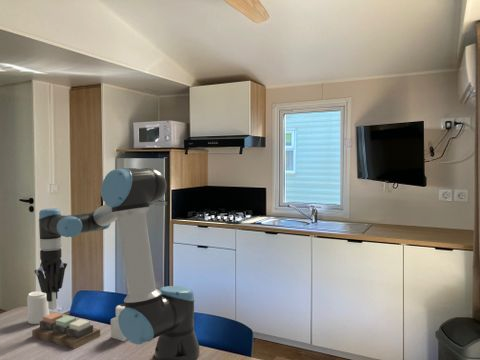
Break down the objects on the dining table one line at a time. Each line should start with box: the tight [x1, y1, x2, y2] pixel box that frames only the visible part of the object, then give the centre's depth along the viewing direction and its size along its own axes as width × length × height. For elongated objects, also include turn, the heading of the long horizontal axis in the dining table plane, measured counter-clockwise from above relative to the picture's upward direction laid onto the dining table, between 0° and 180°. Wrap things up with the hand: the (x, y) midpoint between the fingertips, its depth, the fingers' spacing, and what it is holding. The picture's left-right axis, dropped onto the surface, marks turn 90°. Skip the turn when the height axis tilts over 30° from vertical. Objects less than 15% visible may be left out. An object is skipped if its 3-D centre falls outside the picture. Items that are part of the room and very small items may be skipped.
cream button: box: [69, 318, 91, 331], centre depth 149 cm, size 5×5×2 cm
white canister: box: [26, 289, 50, 325], centre depth 168 cm, size 8×8×12 cm
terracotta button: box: [43, 312, 64, 324], centre depth 156 cm, size 5×5×2 cm
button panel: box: [31, 320, 101, 350], centre depth 153 cm, size 23×12×5 cm, turn 62°
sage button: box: [56, 315, 77, 327], centre depth 153 cm, size 5×5×2 cm
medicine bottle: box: [110, 303, 128, 342], centre depth 153 cm, size 7×7×12 cm
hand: (52, 308), depth 156 cm, fingers closed
